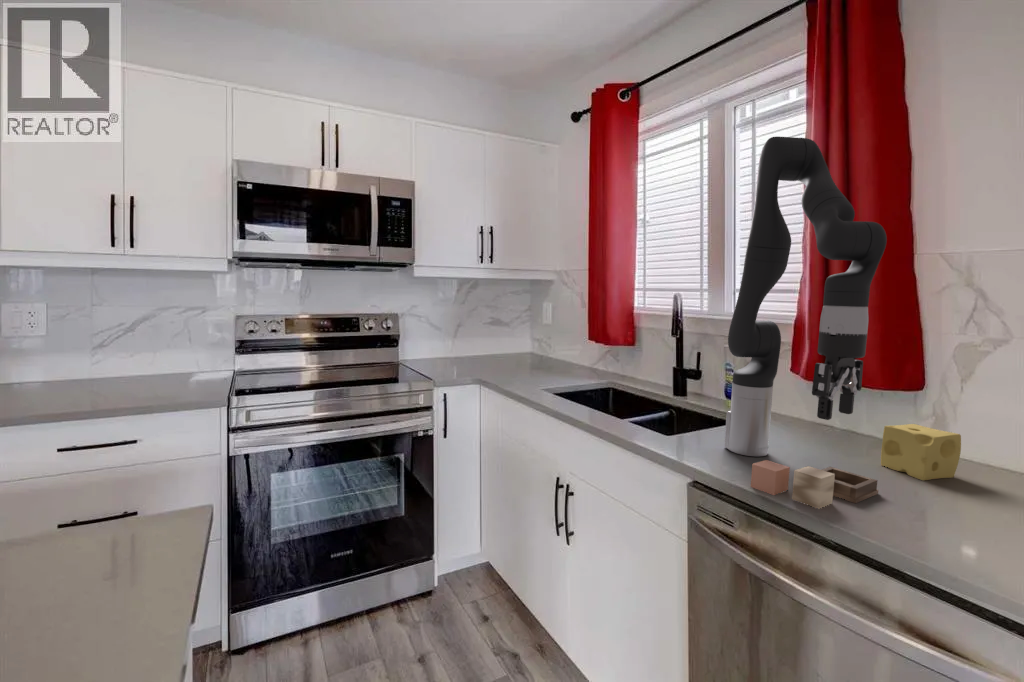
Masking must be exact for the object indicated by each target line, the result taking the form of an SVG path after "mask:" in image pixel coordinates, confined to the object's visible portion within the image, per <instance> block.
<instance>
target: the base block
mask: <svg viewBox="0 0 1024 682" xmlns="http://www.w3.org/2000/svg"><path fill="white" fill-rule="evenodd" d="M793 472H794V473H793V483H792V494H791V495H792V496H791V500H792V499H793V500H792V501H794V500H796V501H799V502H802V503H805V504H808V505H810V506H812V507H811V508H813V507H815V508H814V509H816V508H818V509H817V510H821V509H823V508H822V507H824V508H826V507H828V506H830V505H829V504H831V505H832V504H833V497H834V496H833V490H834V479H835V474H833V473H830V472H827V471H823V470H822V469H819V468H816V467H813V466H810V465H807V466H804V467H800V468H798V469H794V470H793ZM796 501H795V502H796ZM799 502H798V503H799ZM802 503H801V504H802ZM805 504H804V505H805ZM808 505H807V506H808ZM827 505H828V506H827ZM810 506H809V507H810ZM825 506H826V507H825ZM820 508H821V509H820Z"/></svg>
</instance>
